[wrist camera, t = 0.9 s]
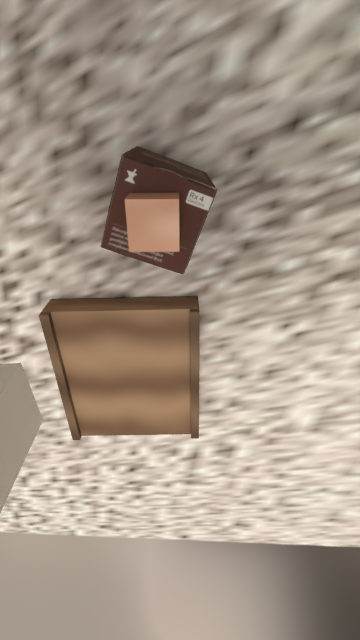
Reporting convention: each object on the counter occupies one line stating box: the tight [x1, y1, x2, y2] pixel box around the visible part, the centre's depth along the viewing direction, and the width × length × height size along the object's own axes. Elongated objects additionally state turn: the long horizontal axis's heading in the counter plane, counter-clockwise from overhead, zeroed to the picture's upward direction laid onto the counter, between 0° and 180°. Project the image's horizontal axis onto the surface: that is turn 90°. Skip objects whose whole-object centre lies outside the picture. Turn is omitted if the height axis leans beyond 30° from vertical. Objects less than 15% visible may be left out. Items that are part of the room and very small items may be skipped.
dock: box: [39, 296, 199, 440], centre depth 35 cm, size 16×14×3 cm
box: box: [101, 147, 217, 274], centre depth 24 cm, size 6×6×7 cm
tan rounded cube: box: [125, 193, 180, 252], centre depth 20 cm, size 3×3×2 cm
